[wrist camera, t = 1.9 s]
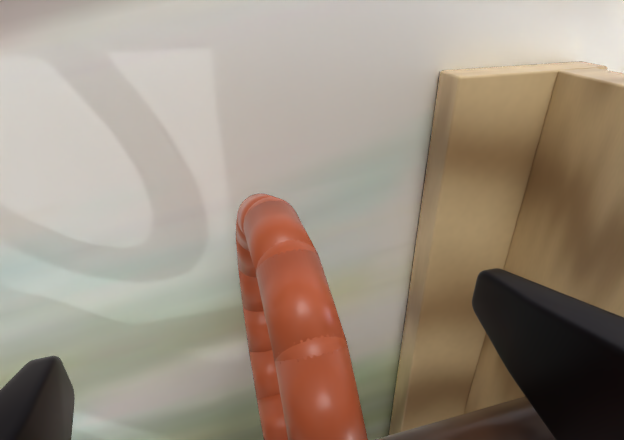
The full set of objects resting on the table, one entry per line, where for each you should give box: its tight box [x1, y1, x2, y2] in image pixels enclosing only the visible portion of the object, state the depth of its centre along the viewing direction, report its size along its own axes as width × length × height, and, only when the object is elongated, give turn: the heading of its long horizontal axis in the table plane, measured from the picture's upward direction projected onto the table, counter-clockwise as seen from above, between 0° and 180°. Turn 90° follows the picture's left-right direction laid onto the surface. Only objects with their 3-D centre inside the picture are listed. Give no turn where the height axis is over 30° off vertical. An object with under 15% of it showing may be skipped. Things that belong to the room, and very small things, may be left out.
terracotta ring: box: [236, 194, 368, 440], centre depth 10 cm, size 9×1×9 cm, turn 0°
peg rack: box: [375, 61, 624, 440], centre depth 15 cm, size 22×17×11 cm
